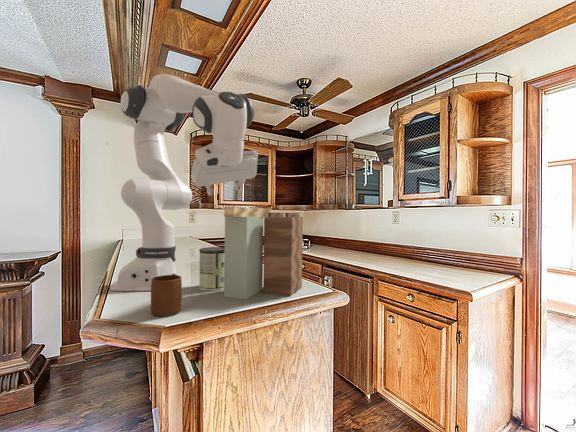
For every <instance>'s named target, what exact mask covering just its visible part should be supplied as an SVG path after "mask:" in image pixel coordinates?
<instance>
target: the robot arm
mask: <svg viewBox="0 0 576 432" xmlns="http://www.w3.org/2000/svg"><path fill="white" fill-rule="evenodd" d="M120 107H121V111H122V113H123V114H124V115H125V116H126V117H128V118H131V119H133V120H139V121H138V122H136V123H135V125H134V127H133V145H134V150H135V157H136V163H137V167H138V169H139V170H140V171H141V173H143V174H144V175H146V176H148V178H133V179H128V180H126V181H125V183H123V185H122V187H121V191H120V196H121V200H122V201H123V203H124V204H125V205H126V206H127V207H128V208H129V209H130V210H132V211H133V212H134V214H135V215H136V216H137V218H138V220H139V222H140V226H141V238H142V240H141V241H142V243H141V244H142V246H140V247H138V248H137V249H135V255H136V257H135V258H134V259H133V260H131V261H130V262H129V263H127V264H126V265H125V266H123V267H122V268H121V269H120V270H119V273H118V276H117V280H116V281H114V282H113V283H112V284H110V285H109V290H110V291H112V292H114V291H115V292H117V291H118V292H123V291H124V292H125V291H128V292H136V291H137V292H145V291H147V292H149V291H150V292H151V282H152V278H154V277H158V276H164V275H172V274H176V275H178V274H177V273H178V272H177V266H176V261H177V246H176V237H175V236H176V226H175V225H174V224H173V223H172V222H171V221H170V220H168V219H166V218H165V216H163V215H164V214H163V212H162V210H163V211H164V210H170V211H176V210H181V209H186V208H188V207H189V206H190V205H191V203H192V200H193V192H192V190H191V188H190V186H189V185H187V183H184V182H183V181H182V180H181V179H180V178H179V176H178V175H177V174H176V173H175V171H174V169H173V166H172V165H171V163H170V158H169V155H168V151H167V149H168V148H167V145H166V141H165V137H164V133H165V131H167V132H171V131H173V129H175V128H178V127H179V125H181V124H182V123H183V121H184V118H185V114H186V113H187V114H188V113H192V120H193V123H194V124H195V125H196V127H198V128H199V129H200V130H202V131H203V132H204V133H206V134H209V135H212V137H213V138H212V142H211V143H209V144H207V145H205V146H202V147H199V148H196V149H195V151H194V155H195V157H196V158H195V159H194V160H193V162H192V167H191V180H192V183H193V184H194V185H195V186H196V187H205V188H206V193H207V196H213V195H214V191H215V190H214V189H213V188H212V185H217V184H223V183H230V182H237V183H234V189H235V190H236V191H241V190H242V187H243V186H244V185H245V183H246V180H248V179H249V180H250V179H254V178H255V177H256V176H257V174H258V173H257V171H258V159H259V155H258V154H259V153H258V152H257V151H255V150H244V149H245V142H244V137H245V135H246V132H247V128H249V126H250V125H251V124H252V122H253V121H254V117H255V107H254V104H253V103H252V101H251V100H250V98H249V97H248V96H247V95H246V94H244V93H235V92H232V91H222V92H220V91H219V92H218V91H215V90H212V89H208V88H205V87H204V86H201V85H198V84H196V83H192V82H190V81H187V80H186V79H183V78H180V77H178V76H176V75H172V74H169V73H168V74H167V73H159V74H156V75H154V76H153V77H152V79H151V80H150V82H149V86H148V87H143V86H142V84H138V85H137V86H132V87H128V88H126V89H124V90H123V92H122V94H121V96H120Z"/></svg>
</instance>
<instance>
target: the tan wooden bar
mask: <svg viewBox="0 0 576 432" xmlns="http://www.w3.org/2000/svg"><path fill="white" fill-rule="evenodd" d="M223 210H224V211H223V213H224V218H225V217H263V218H264V217H268V213H272V208H269V207H266V208H265V207H263V208H262V207H244V206H243V207H242V206H224V209H223Z"/></svg>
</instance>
